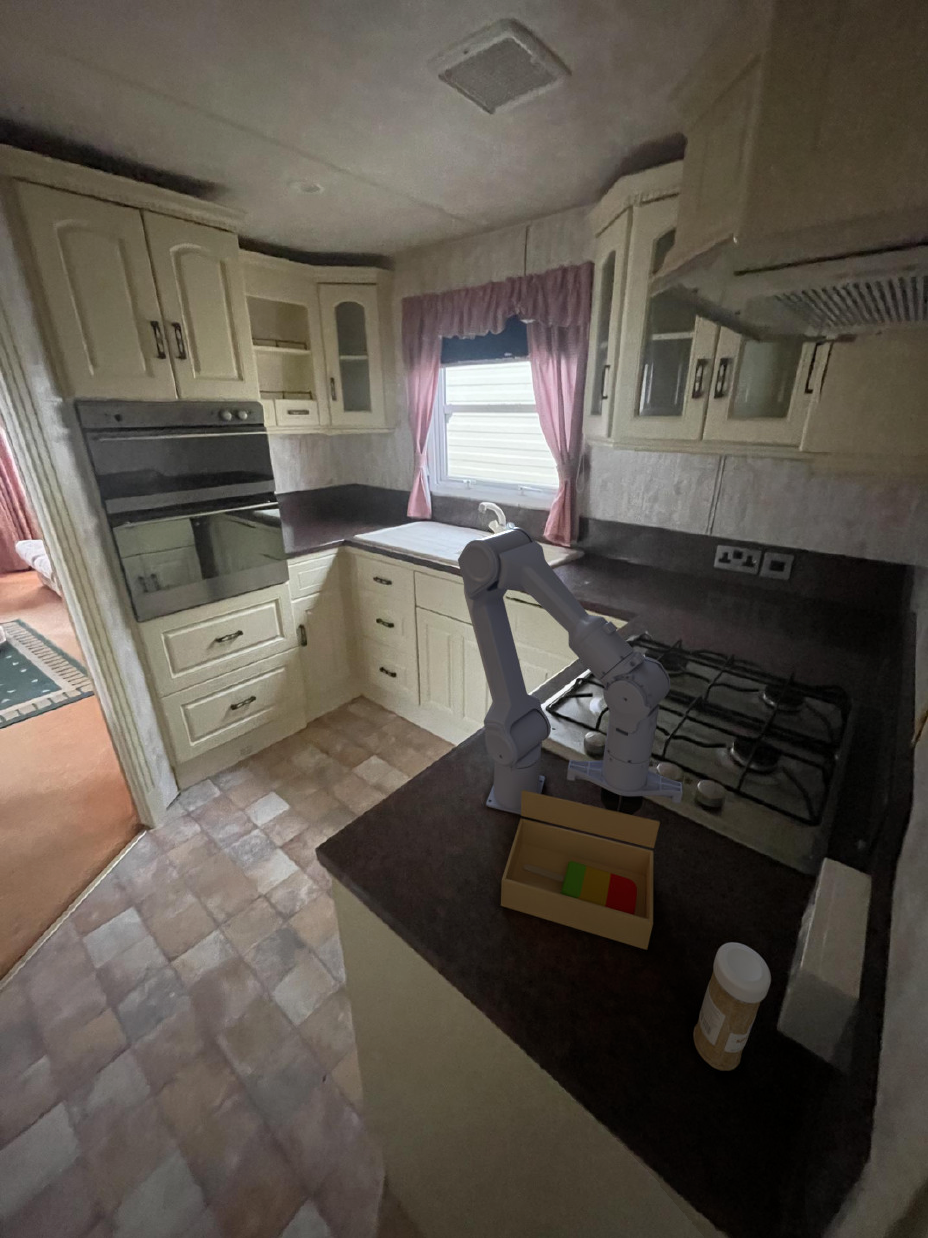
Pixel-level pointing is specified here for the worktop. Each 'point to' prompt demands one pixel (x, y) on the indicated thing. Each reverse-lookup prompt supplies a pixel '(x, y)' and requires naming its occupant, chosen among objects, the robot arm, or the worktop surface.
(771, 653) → the worktop surface
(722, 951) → the sprinkles bottle
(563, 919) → the carton
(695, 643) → the worktop surface
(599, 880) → the popsicle
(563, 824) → the flap
